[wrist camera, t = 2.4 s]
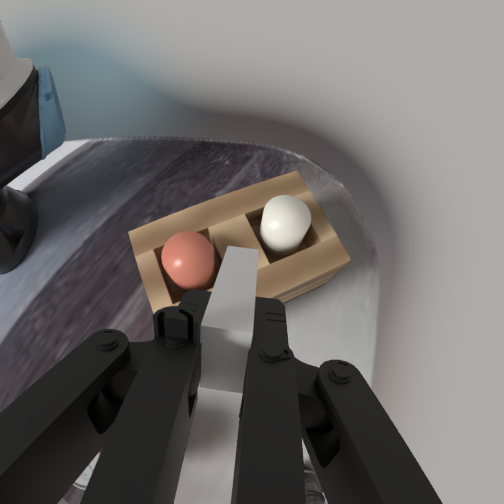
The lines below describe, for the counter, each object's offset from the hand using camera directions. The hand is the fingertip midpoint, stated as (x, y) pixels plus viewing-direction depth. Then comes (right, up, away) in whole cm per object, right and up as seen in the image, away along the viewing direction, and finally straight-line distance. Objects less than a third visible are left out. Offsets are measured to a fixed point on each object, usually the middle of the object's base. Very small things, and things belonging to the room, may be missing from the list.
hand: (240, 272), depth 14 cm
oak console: (-1, -2, +22) cm, 22 cm away
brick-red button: (-5, -1, +15) cm, 15 cm away
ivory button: (+4, +3, +17) cm, 17 cm away
